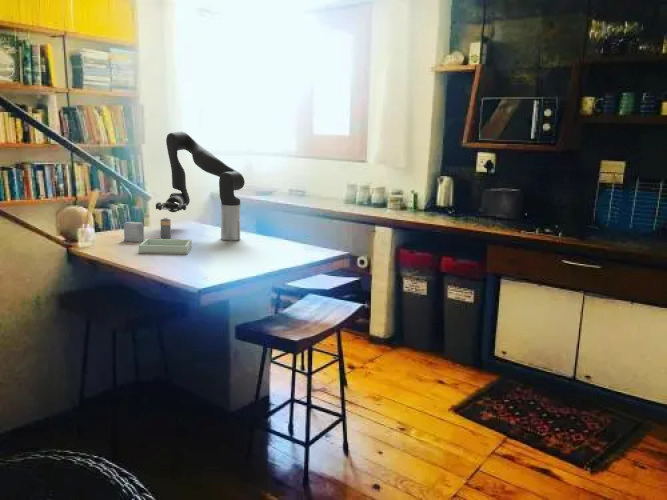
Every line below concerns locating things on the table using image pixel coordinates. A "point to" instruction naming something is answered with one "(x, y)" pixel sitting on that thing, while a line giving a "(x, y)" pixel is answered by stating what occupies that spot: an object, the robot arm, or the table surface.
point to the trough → (165, 246)
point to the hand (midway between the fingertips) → (168, 208)
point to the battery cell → (165, 228)
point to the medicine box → (133, 231)
